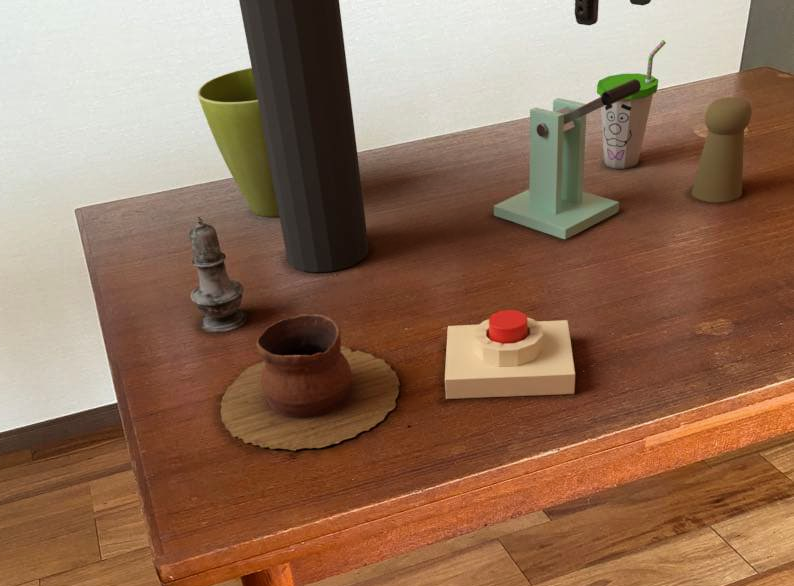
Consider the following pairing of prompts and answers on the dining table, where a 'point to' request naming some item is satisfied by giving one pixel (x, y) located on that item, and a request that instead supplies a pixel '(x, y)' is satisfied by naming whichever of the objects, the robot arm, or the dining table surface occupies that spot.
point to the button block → (509, 362)
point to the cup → (626, 117)
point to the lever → (600, 102)
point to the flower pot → (241, 136)
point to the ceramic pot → (307, 388)
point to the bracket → (556, 179)
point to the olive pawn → (723, 151)
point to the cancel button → (508, 327)
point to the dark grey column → (308, 129)
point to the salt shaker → (214, 283)
